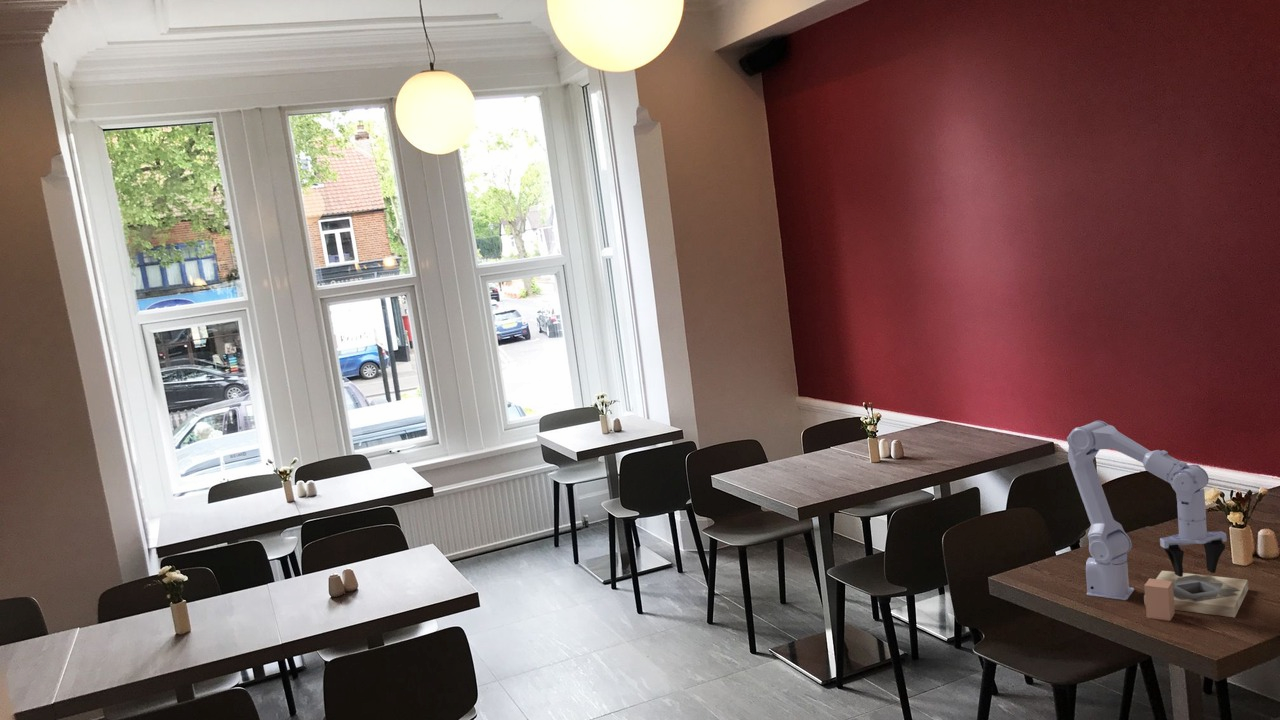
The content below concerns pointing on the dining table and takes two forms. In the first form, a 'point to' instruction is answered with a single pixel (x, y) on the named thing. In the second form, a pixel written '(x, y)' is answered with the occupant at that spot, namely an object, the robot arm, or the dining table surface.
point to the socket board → (1206, 593)
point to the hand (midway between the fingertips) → (1195, 573)
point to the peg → (1159, 599)
